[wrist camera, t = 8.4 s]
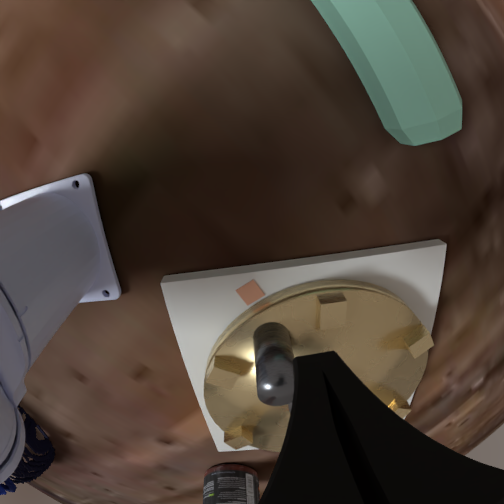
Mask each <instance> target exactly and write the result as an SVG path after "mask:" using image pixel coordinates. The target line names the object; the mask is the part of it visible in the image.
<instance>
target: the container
mask: <svg viewBox="0 0 504 504" xmlns="http://www.w3.org/2000/svg"><path fill="white" fill-rule="evenodd" d="M311 1H312V3H313V4H314V5H315V7H316V8H317V10H318V11H319V12H320V14H321V15H322V17H323V18H324V20H325V21H326V23H327V24H328V26H329V27H330V29H331V30H332V32H333V34H334V35H335V37H336V38H337V40H338V42H339V43H340V45H341V46H342V48H343V50H344V51H345V53H346V55H347V56H348V58H349V60H350V62H351V63H352V65H353V67H354V69H355V70H356V72H357V74H358V76H359V78H360V80H361V81H362V83H363V85H364V87H365V89H366V91H367V93H368V95H369V97H370V99H371V101H372V103H373V105H374V107H375V109H376V111H377V113H378V115H379V117H380V119H381V122H382V124H383V126H384V128H385V129H386V130H387V131H388V132H389V133H390V134H391V135H392V136H393V137H394V138H395V139H396V140H397V141H398V142H399V143H400V144H406V145H412V146H417V145H421V144H425V143H430V142H434V141H439V140H442V139H444V138H446V137H448V136H450V135H452V134H453V133H455V132H457V131H459V130H461V129H462V99H461V97H460V94H459V91H458V89H457V86H456V84H455V82H454V79H453V77H452V75H451V72H450V70H449V68H448V66H447V63H446V61H445V59H444V57H443V55H442V53H441V51H440V49H439V47H438V45H437V43H436V41H435V39H434V37H433V35H432V33H431V32H430V30H429V28H428V26H427V24H426V23H425V21H424V19H423V17H422V16H421V14H420V12H419V11H418V9H417V7H416V6H415V4H414V3H413V1H412V0H311Z"/></svg>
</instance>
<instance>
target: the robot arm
mask: <svg viewBox="0 0 504 504" xmlns="http://www.w3.org/2000/svg"><path fill="white" fill-rule="evenodd" d="M76 180H77V181H78V182H79V188H78V187H76V185H75V182H76ZM1 206H2V209H1ZM105 290H107V291H108V292H109V294H107V293H106V292H105ZM120 295H121V288H120V284H119V281H118V278H117V275H116V272H115V268H114V265H113V262H112V258H111V255H110V251H109V248H108V244H107V240H106V237H105V233H104V229H103V225H102V221H101V217H100V213H99V208H98V204H97V200H96V195H95V190H94V185H93V181H92V178H91V176H90V175H89V174H87V173H83V174H80V175H76V176H73V177H69V178H66V179H62V180H59V181H56V182H53V183H49V184H46V185H43V186H40V187H37V188H34V189H31V190H28V191H25V192H22V193H19V194H17V195H14V196H11V197H8V198H6V199H3V200H0V484H1V483H2V482H4V481H5V480H6V479H7V478H8V477H9V476H10V475H11V474H12V473H13V472H14V470H15V469H16V468H17V466H18V464H19V462H20V460H21V457H22V454H23V451H24V446H25V427H24V422H23V419H22V416H21V414H20V412H19V410H18V408H17V406H18V405H19V403H20V401H21V400H22V398H23V396H24V395H25V393H26V391H27V390H26V387H25V384H24V377H25V375H26V373H27V372H28V371H29V369H30V368H31V366H32V365H33V363H34V362H35V360H36V359H37V357H38V356H39V355H40V353H41V352H42V350H43V349H44V348H45V346H46V345H47V343H48V342H49V341H50V339H51V338H52V337H53V335H54V334H55V333H56V331H57V330H58V329H59V327H60V326H61V325H62V323H63V322H64V321H65V319H66V318H67V317H68V316H69V314H70V313H71V312H72V310H73V309H74V308H75V307H76V305H77V304H78V303H80V302H92V301H103V300H115V299H118V298H119V297H120ZM293 377H294V394H293V401H292V408H291V414H290V418H289V422H288V427H287V431H286V435H285V438H284V442H283V445H282V448H281V451H280V454H279V457H278V460H277V463H276V465H275V468H274V470H273V473H272V475H271V478H270V480H269V482H268V484H267V487H266V489H265V491H264V493H263V495H262V497H261V499H260V501H259V503H258V504H504V470H502V469H499V468H496V467H492V466H489V465H486V464H483V463H480V462H478V461H475V460H473V459H470V458H468V457H466V456H463V455H461V454H459V453H457V452H455V451H453V450H451V449H449V448H448V447H446V446H444V445H442V444H440V443H438V442H436V441H435V440H433V439H431V438H430V437H428V436H427V435H425V434H423V433H422V432H420V431H419V430H417V429H416V428H415V427H413V426H412V425H410V424H409V423H408V422H406V421H405V420H404V419H402V418H401V417H400V416H399V415H397V414H396V413H395V412H394V411H393V410H391V409H390V408H389V407H388V406H387V405H386V404H384V403H383V402H382V401H381V400H380V399H379V398H378V397H377V396H376V395H375V394H374V393H373V392H372V391H371V390H370V389H369V388H368V387H367V386H366V385H365V384H364V383H363V382H362V381H361V380H360V379H359V378H358V377H357V376H356V375H355V374H354V372H353V371H352V370H351V369H350V368H349V367H348V366H347V365H346V363H345V362H344V361H343V360H342V359H341V357H340V356H339V355H338V354H337V352H335V351H334V350H333V351H327V352H322V353H316V354H310V355H304V356H297V357H295V358H294V359H293Z"/></svg>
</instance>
